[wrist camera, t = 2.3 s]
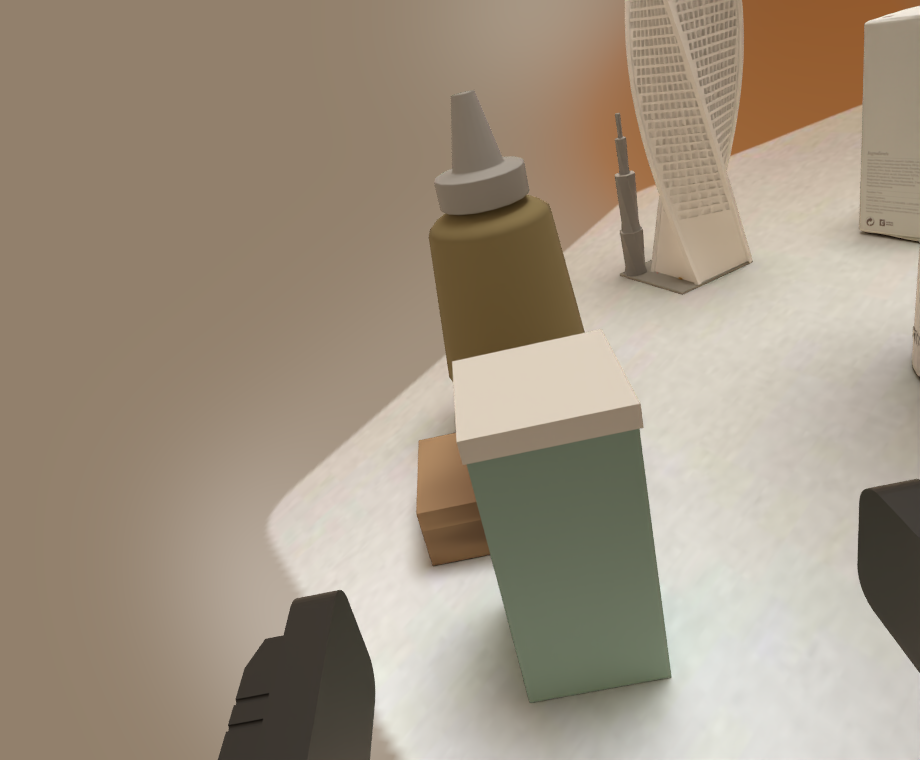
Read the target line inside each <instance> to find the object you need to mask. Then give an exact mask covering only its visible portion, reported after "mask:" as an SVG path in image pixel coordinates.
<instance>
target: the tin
mask: <svg viewBox="0 0 920 760" xmlns="http://www.w3.org/2000/svg"><path fill="white" fill-rule="evenodd" d="M452 368H453V386H454V404H455V423H456V441H457V446H458V449H459V453H460V457H461V460H462V464H463V465H466V464H467V468H468V472H469V476H470V479H471V483H472V487H473V491H474V494H475V498H476V502H477V506H478V510H479V513H480V517H481V521H482V525H483V528H484V532H485V536H486V540H487V543H488V547H489V551H490V555H491V559H492V562H493V566H494V570H495V574H496V577H497V581H498V585H499V589H500V593H501V596H502V600H503V604H504V608H505V611H506V615H507V619H508V623H509V627H510V630H511V634H512V638H513V642H514V645H515V649H516V653H517V657H518V660H519V664H520V668H521V672H522V676H523V679H524V683H525V687H526V691H527V694H528V698H529V702H530V703H532V702H538V701H543V700H549V699H554V698H560V697H565V696H571V695H576V694H582V693H587V692H593V691H599V690H604V689H610V688H615V687H621V686H626V685H632V684H637V683H643V682H648V681H654V680H659V679H665V678H670V677H671V670H670V663H669V655H668V647H667V639H666V632H665V624H664V616H663V608H662V601H661V593H660V585H659V577H658V570H657V562H656V554H655V546H654V539H653V531H652V523H651V516H650V508H649V500H648V492H647V485H646V477H645V469H644V461H643V454H642V446H641V438H640V430H639V429H640V428H643V420H642V412H641V404H640V402H639V400H638V398H637V396H636V394H635V392H634V390H633V388H632V386H631V385H630V383H629V381H628V379H627V377H626V375H625V373H624V371H623V369H622V367H621V365H620V364H619V362H618V360H617V358H616V356H615V354H614V352H613V350H612V348H611V346H610V344H609V343H608V341H607V339H606V337H605V335H604V333H603V331H602V329H600V330H595V331H590V332H586V333H581V334H577V335H572V336H567V337H563V338H558V339H554V340H549V341H544V342H540V343H535V344H531V345H526V346H521V347H517V348H512V349H508V350H503V351H498V352H494V353H489V354H485V355H480V356H475V357H471V358H466V359H462V360H457V361H452Z"/></svg>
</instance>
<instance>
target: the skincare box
mask: <svg viewBox="0 0 920 760" xmlns="http://www.w3.org/2000/svg"><path fill="white" fill-rule="evenodd" d="M864 26H865V28H864V29H865V32H864V33H865V34H864V40H865V41H864V75H863V111H862V148H861V182H860V219H859V229H860V230H861V231H864V232H869V233H879V234H885V235H890V236H894V237H898V238H903V239H908V240H913V241H920V6H918V7H914V8H909V9H906V10H902V11H898V12H896V13H892V14H889V15H885V16H883V17H880V18H877V19H874V20H871V21H868V22H867V23H865V25H864Z"/></svg>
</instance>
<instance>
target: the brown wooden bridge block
mask: <svg viewBox="0 0 920 760" xmlns="http://www.w3.org/2000/svg"><path fill="white" fill-rule="evenodd" d="M416 514H417V517H418V521H419V524H420V527H421V530H422V533H423V536H424V540H425V543H426V546H427V549H428V552H429V555H430V559H431V562H432V565H433V566H434V565H439V564H444V563H449V562H454V561H459V560H464V559H469V558H475V557H480V556H485V555H490V551H489V547H488V543H487V540H486V536H485V532H484V528H483V525H482V521H481V517H480V513H479V510H478V506H477V502H476V498H475V494H474V491H473V487H472V483H471V479H470V476H469V472H468V468H467V464H466V465H463V464H462V460H461V457H460V453H459V449H458V446H457V441H456V433H453V434H448V435H443V436H438V437H434V438H429V439H424V440H419V449H418V480H417V511H416Z"/></svg>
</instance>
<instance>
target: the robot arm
mask: <svg viewBox="0 0 920 760" xmlns="http://www.w3.org/2000/svg"><path fill="white" fill-rule="evenodd" d="M912 366H913V368H914V370H915V372H916V374H917V375H918V376H919V377H920V249H919V263H918V277H917V291H916V306H915V322H914V326H913V351H912ZM857 565H858V575H859V580H860V584H861V587H862V590H863V592H864V595H865V597H866V599H867V601H868V603H869V605H870V606H871V608H872V609H873V611H874V612H875V614H876V615H877V616H878V618H879V619H880V620H881V622H882V623H883V624H884V626H885V627H886V628H887V630H888V631H889V632H890V634H891V635H892V636H893V638H894V639H895V640H896V642H897V643H898V644H899V646H900V647H901V648H902V650H903V651H904V652H905V654H906V655H907V656H908V658H909V659H910V660H911V662H912V663H913V664H914V666H915V667H916V668H917V670H918V671H919V672H920V480H919V479H914V480H909V481H904V482H899V483H893V484H888V485H883V486H878V487H873V488H868V489H865V490H863V491H862V493H861V495H860V501H859V531H858V564H857ZM374 706H375V681H374V673H373V668H372V663H371V659H370V656H369V654H368V651H367V648H366V646H365V643H364V641H363V638H362V635H361V633H360V630H359V627H358V625H357V622H356V620H355V617H354V614H353V612H352V609H351V607H350V604H349V601H348V599H347V597H346V595H345V593H344V592H343V591H342V590H337V591H332V592H327V593H322V594H317V595H312V596H307V597H301V598H296V599H295V600H294V601H293V602H292V605H291V607H290V612H289V615H288V620H287V624H286V628H285V632H284V636H278V637H273V638H268V639H265V640H264V642H263V643H262V645H261V646H260V647H259V649H258V650H257V652H256V653H255V654H254V656H253V657H252V659H251V660H250V662H249V663H248V665H247V666H246V667H245V669H244V673H243V676H242V679H241V683H240V686H239V690H238V693H237V696H236V705H234V707H233V710H232V714H231V717H230V720H229V724H228V726H229V731H228V732H226V734H225V737H224V741H223V744H222V748H221V751H220V755H219V758H218V760H370V751H371V741H372V729H373V718H374Z"/></svg>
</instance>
